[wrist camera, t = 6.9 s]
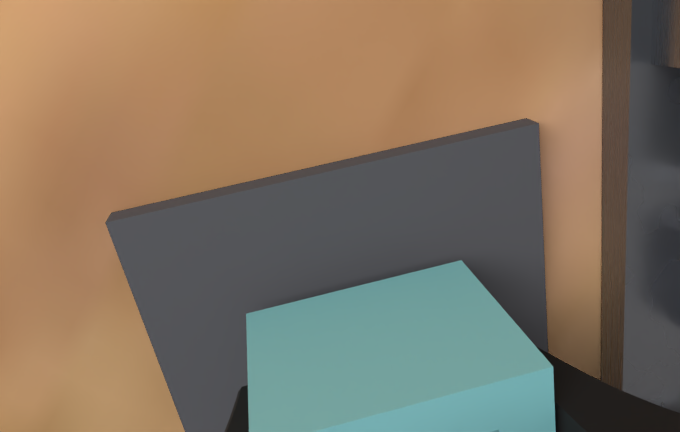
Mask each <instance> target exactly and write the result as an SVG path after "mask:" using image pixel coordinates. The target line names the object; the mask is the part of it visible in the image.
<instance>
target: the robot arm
mask: <svg viewBox="0 0 680 432" xmlns="http://www.w3.org/2000/svg"><path fill="white" fill-rule="evenodd" d="M536 347H537V346H536ZM537 348H538V347H537ZM538 350H539V351H540V352H541V353H542V354H543V355H544V356H545V358H546V359H547V360H548V361H549V362H550V363H551V365H552V366H553V374H554V401H555V428H556V432H680V413H679V412H676V411H673V410H670V409H667V408H664V407H661V406H659V405H656V404H653V403H651V402H648V401H646V400H643V399H641V398H639V397H636V396H634V395H631V394H629V393H626V392H624V391H622V390H619V389H617V388H615V387H613V386H610V385H608V384H606V383H604V382H602V381H600V380H598V379H596V378H594V377H592V376H590V375H588V374H586V373H584V372H582V371H580V370H578V369H576V368H574V367H572V366H570V365H568V364H567V363H565V362H563V361H561V360H559V359H558V358H556V357H554V356H552V355H551V354H549V353H547V352H545V351H544V350H542V349H540V348H538ZM225 432H249V414H248V385H247V386H243V387H241V389H240V390H239V391H238V394H237V397H236V401H235V404H234V407H233V410H232V413H231V416H230V419H229V421H228V424H227V427H226V429H225Z"/></svg>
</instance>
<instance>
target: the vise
mask: <svg viewBox="0 0 680 432" xmlns="http://www.w3.org/2000/svg"><path fill="white" fill-rule="evenodd" d="M601 381H602V382H604V383H606V384H608V385H610V386H613V387H615V388H617V389H619V390H622V391H624V392H626V393H629V394H631V395H634V396H636V397H639V398H641V399H643V400H646V401H648V402H651V403H653V404H656V405H659V406H661V407H664V408H667V409H670V410H673V411H676V412H679V413H680V0H603V149H602V341H601Z"/></svg>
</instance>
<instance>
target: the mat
mask: <svg viewBox="0 0 680 432" xmlns="http://www.w3.org/2000/svg"><path fill="white" fill-rule="evenodd" d="M106 225H107V228H108V231H109V233H110V236H111V238H112V241H113V244H114V246H115V249H116V252H117V254H118V257H119V259H120V262H121V265H122V267H123V270H124V273H125V275H126V278H127V280H128V283H129V286H130V288H131V291H132V294H133V296H134V299H135V301H136V304H137V307H138V309H139V312H140V315H141V317H142V320H143V322H144V325H145V328H146V330H147V333H148V336H149V338H150V341H151V343H152V346H153V349H154V351H155V354H156V356H157V359H158V362H159V364H160V367H161V370H162V372H163V375H164V377H165V380H166V383H167V385H168V388H169V391H170V393H171V396H172V398H173V401H174V404H175V406H176V409H177V412H178V414H179V417H180V419H181V422H182V425H183V427H184V430H185V432H225V429H226V427H227V424H228V421H229V419H230V416H231V413H232V410H233V407H234V404H235V401H236V397H237V394H238V391H239V390H240V389H241V387H243V386H247V385H248V372H247V330H246V314H247V313H251V312H255V311H259V310H263V309H267V308H271V307H275V306H279V305H283V304H287V303H291V302H295V301H299V300H303V299H307V298H311V297H315V296H319V295H323V294H327V293H331V292H335V291H339V290H343V289H347V288H351V287H355V286H359V285H363V284H367V283H371V282H375V281H379V280H383V279H387V278H391V277H395V276H399V275H403V274H407V273H411V272H415V271H419V270H424V269H428V268H432V267H436V266H440V265H444V264H448V263H452V262H456V261H460V260H462V261H463V263H464V264H465V265H466V266H467V267H468V268H469V270H470V271H471V272H472V273H473V274H474V275H475V276H476V278H477V279H478V280H479V281H480V282H481V283H482V285H483V286H484V287H485V288H486V289H487V290H488V292H489V293H490V294H491V295H492V296H493V297H494V298H495V300H496V301H497V302H498V303H499V304H500V305H501V307H502V308H503V309H504V310H505V311H506V312H507V314H508V315H509V316H510V317H511V318H512V319H513V321H514V322H515V323H516V324H517V325H518V326H519V327H520V329H521V330H522V331H523V332H524V333H525V334H526V336H527V337H528V338H529V339H530V340H531V341H532V343H533V344H534V345H535V346H537V347H538V348H540V349H542V350H544V351H545V352H547V353H548V338H547V313H546V289H545V264H544V240H543V216H542V191H541V167H540V142H539V123H536V122H534V121H532V120H529V119H527V118H526V119H521V120H517V121H513V122H508V123H504V124H499V125H495V126H491V127H486V128H482V129H477V130H473V131H469V132H464V133H460V134H456V135H451V136H447V137H442V138H438V139H434V140H429V141H425V142H420V143H416V144H412V145H407V146H403V147H398V148H394V149H390V150H385V151H381V152H377V153H372V154H368V155H363V156H359V157H355V158H350V159H346V160H341V161H337V162H333V163H328V164H324V165H319V166H315V167H311V168H306V169H302V170H297V171H293V172H289V173H284V174H280V175H276V176H271V177H267V178H262V179H258V180H254V181H249V182H245V183H240V184H236V185H232V186H227V187H223V188H218V189H214V190H210V191H205V192H201V193H196V194H192V195H188V196H183V197H179V198H175V199H170V200H166V201H161V202H157V203H153V204H148V205H144V206H139V207H135V208H131V209H126V210H122V211H117V212H113V213H111V214H110V216H109V218H108V219H107V221H106Z"/></svg>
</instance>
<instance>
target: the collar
mask: <svg viewBox="0 0 680 432" xmlns="http://www.w3.org/2000/svg"><path fill="white" fill-rule="evenodd" d="M246 330H247V372H248V414H249V432H556V428H555V401H554V374H553V366H552V365H551V363H550V362H549V361H548V360H547V359H546V358H545V356H544V355H543V354H542V353H541V352H540V351H539V350H538V348H537V347H536V346H535V345H534V344H533V343H532V341H531V340H530V339H529V338H528V337H527V336H526V334H525V333H524V332H523V331H522V330H521V329H520V327H519V326H518V325H517V324H516V323H515V322H514V321H513V319H512V318H511V317H510V316H509V315H508V314H507V312H506V311H505V310H504V309H503V308H502V307H501V305H500V304H499V303H498V302H497V301H496V300H495V298H494V297H493V296H492V295H491V294H490V293H489V292H488V290H487V289H486V288H485V287H484V286H483V285H482V283H481V282H480V281H479V280H478V279H477V278H476V276H475V275H474V274H473V273H472V272H471V271H470V270H469V268H468V267H467V266H466V265H465V264H464V263H463V261H462V260H460V261H456V262H452V263H448V264H444V265H440V266H436V267H432V268H428V269H424V270H419V271H415V272H411V273H407V274H403V275H399V276H395V277H391V278H387V279H383V280H379V281H375V282H371V283H367V284H363V285H359V286H355V287H351V288H347V289H343V290H339V291H335V292H331V293H327V294H323V295H319V296H315V297H311V298H307V299H303V300H299V301H295V302H291V303H287V304H283V305H279V306H275V307H271V308H267V309H263V310H259V311H255V312H251V313H247V314H246Z"/></svg>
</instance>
